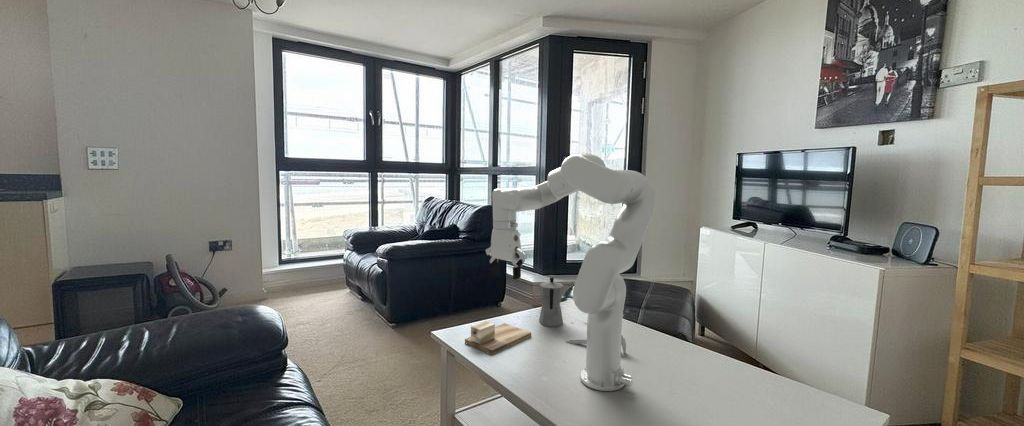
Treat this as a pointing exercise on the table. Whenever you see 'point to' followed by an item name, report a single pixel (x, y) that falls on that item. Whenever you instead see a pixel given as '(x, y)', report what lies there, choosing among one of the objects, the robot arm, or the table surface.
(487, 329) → the beige block with knob
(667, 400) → the table surface
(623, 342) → the caliper
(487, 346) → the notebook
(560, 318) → the coffeepot
